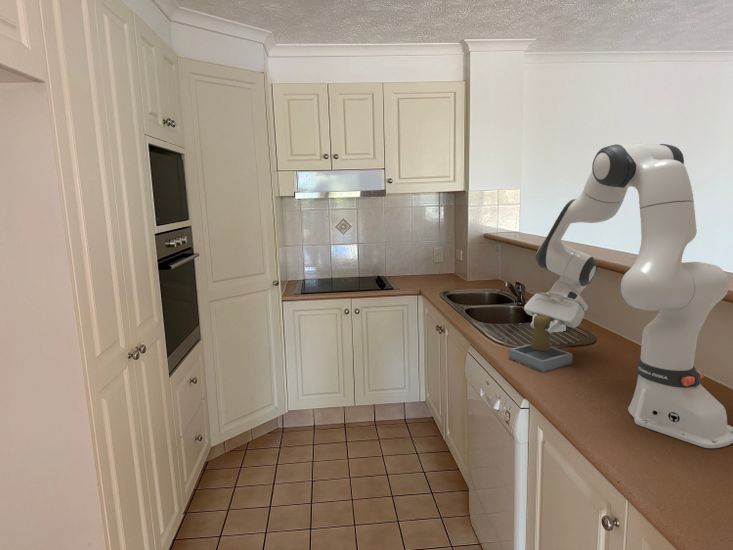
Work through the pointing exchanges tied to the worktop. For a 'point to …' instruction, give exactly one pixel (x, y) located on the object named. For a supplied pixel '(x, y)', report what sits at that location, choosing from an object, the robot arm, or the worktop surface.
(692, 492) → the worktop surface
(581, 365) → the worktop surface
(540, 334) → the cork
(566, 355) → the tray
